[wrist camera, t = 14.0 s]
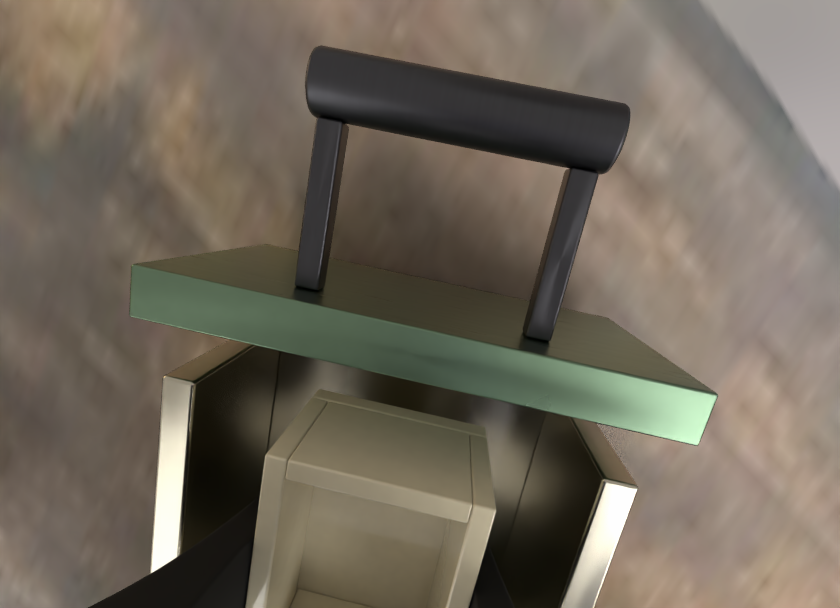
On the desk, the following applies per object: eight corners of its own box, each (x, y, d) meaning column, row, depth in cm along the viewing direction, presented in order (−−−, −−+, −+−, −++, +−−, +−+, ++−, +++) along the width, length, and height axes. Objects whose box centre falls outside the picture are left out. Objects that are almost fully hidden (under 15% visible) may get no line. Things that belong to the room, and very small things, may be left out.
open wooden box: (486, 426, 12) (497, 510, 9) (435, 617, 14) (428, 752, 10) (318, 387, 12) (264, 454, 9) (288, 580, 14) (231, 699, 10)
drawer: (283, 89, 14) (142, -12, 8) (657, 163, 13) (829, 118, 7) (224, 588, 18) (107, 776, 12) (500, 659, 18) (522, 892, 12)
